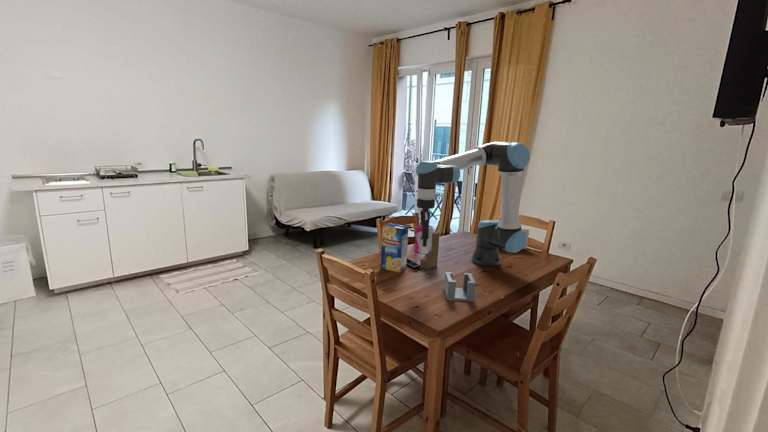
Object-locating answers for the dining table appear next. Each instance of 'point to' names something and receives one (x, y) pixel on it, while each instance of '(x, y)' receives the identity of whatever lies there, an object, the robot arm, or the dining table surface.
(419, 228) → the supplement box
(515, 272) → the dining table surface
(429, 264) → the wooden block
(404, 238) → the beverage box
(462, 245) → the dining table surface
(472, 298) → the socket block
